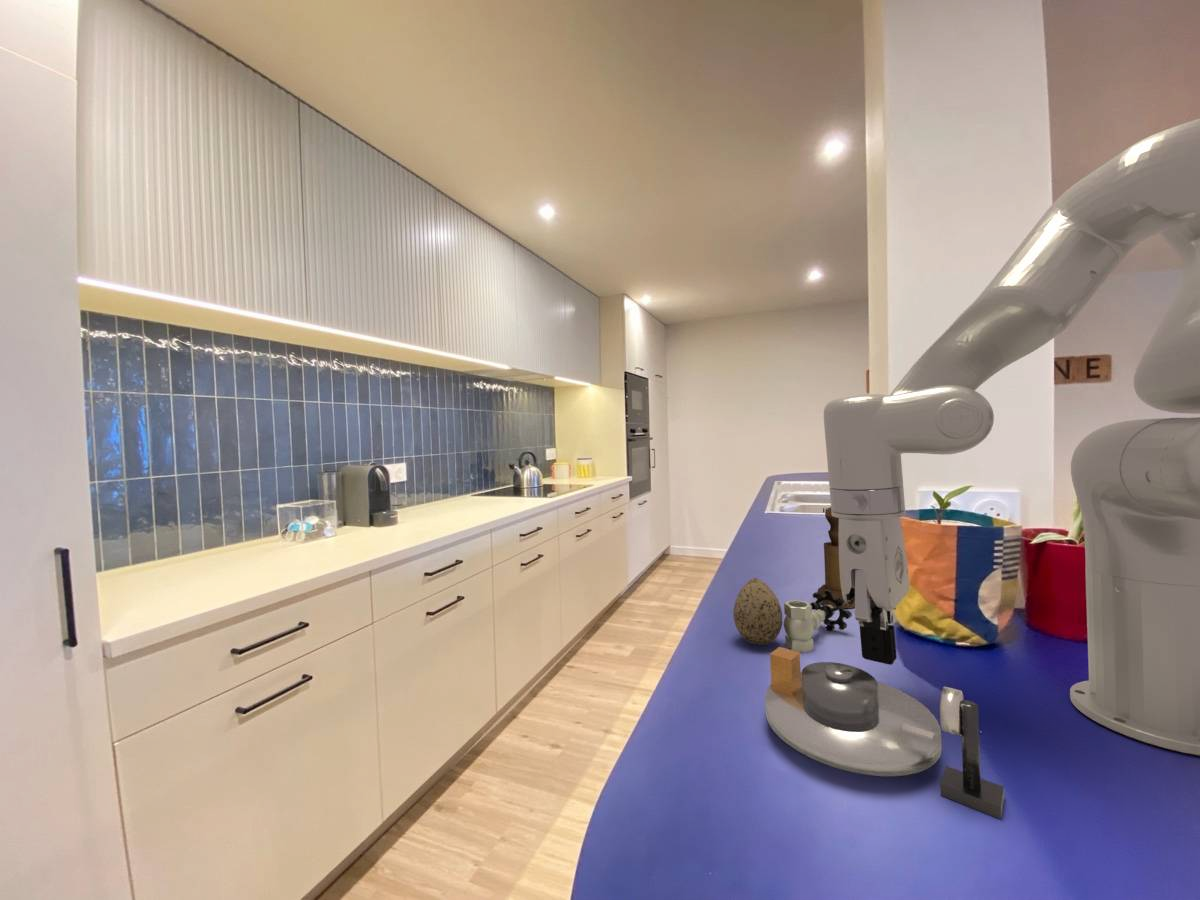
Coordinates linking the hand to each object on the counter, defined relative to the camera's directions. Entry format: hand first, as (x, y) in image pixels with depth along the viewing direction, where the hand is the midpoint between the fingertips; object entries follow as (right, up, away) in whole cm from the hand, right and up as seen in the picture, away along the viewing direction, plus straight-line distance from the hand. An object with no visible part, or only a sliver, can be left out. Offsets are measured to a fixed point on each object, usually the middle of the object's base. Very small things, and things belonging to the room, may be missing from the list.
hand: (879, 658), depth 55 cm
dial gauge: (-1, -5, -15) cm, 15 cm away
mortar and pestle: (+12, -5, +33) cm, 36 cm away
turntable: (-7, -4, -6) cm, 10 cm away
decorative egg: (-8, -6, +18) cm, 20 cm away
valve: (0, -5, +18) cm, 19 cm away
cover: (-8, -3, -6) cm, 10 cm away
